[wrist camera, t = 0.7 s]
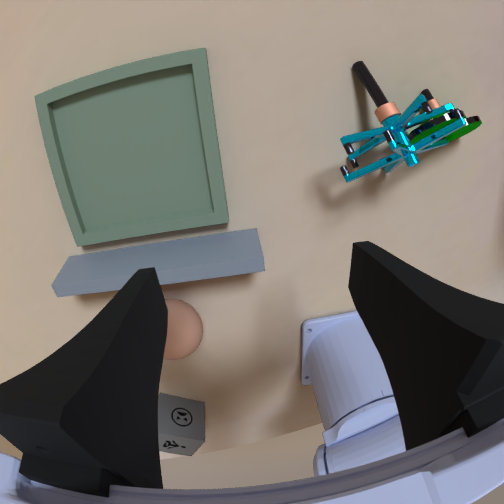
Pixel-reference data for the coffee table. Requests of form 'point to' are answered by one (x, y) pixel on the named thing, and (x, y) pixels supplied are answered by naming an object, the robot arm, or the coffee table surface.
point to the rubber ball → (182, 330)
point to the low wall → (163, 262)
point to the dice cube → (180, 424)
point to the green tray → (136, 149)
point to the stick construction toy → (404, 128)
